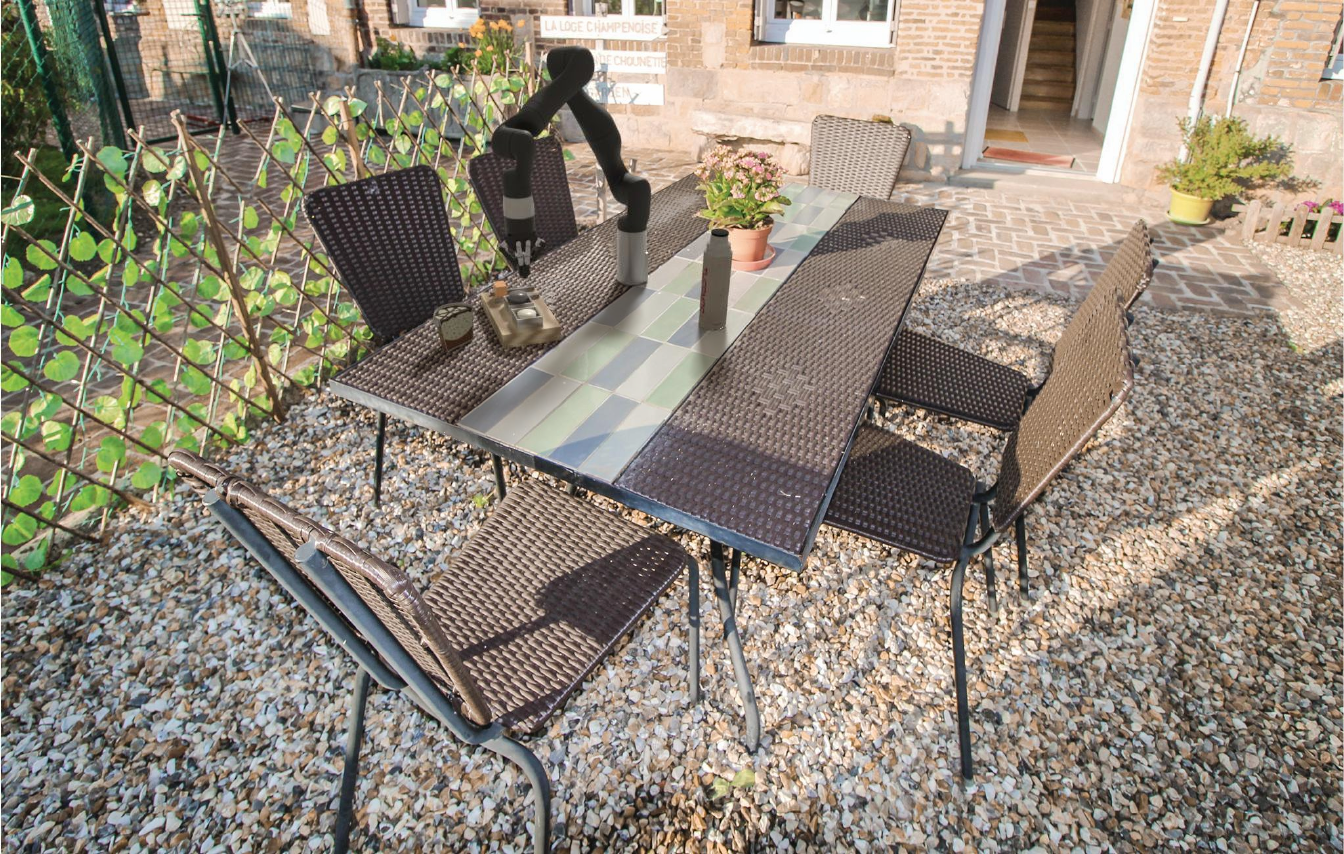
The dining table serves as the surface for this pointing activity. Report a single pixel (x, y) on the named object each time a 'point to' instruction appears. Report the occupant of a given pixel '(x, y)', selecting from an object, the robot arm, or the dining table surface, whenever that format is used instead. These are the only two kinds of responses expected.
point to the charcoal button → (518, 296)
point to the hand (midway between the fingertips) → (524, 277)
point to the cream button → (526, 313)
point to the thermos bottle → (715, 280)
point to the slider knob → (500, 289)
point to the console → (516, 329)
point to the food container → (454, 324)
